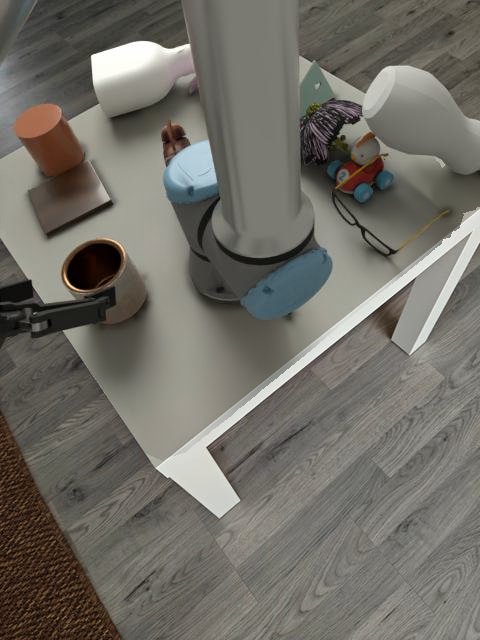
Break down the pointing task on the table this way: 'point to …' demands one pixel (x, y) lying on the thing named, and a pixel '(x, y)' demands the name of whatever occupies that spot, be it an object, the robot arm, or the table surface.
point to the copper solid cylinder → (49, 139)
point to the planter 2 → (308, 88)
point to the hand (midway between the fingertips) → (71, 291)
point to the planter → (105, 276)
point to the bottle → (137, 75)
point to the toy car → (374, 172)
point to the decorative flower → (326, 129)
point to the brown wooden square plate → (69, 198)
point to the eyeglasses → (362, 228)
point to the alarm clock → (173, 140)
